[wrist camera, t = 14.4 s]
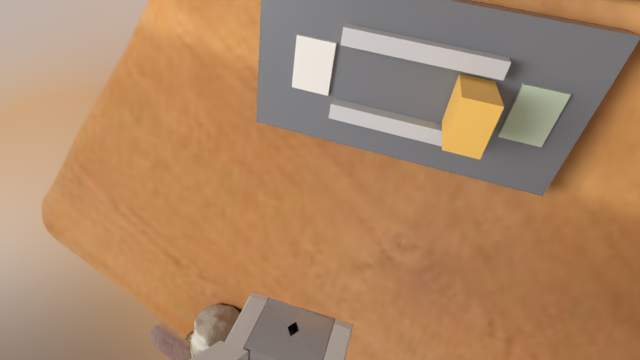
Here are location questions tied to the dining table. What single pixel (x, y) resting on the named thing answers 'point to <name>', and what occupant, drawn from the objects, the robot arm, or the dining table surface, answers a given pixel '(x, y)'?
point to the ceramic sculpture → (211, 327)
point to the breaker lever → (471, 116)
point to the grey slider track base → (436, 79)
